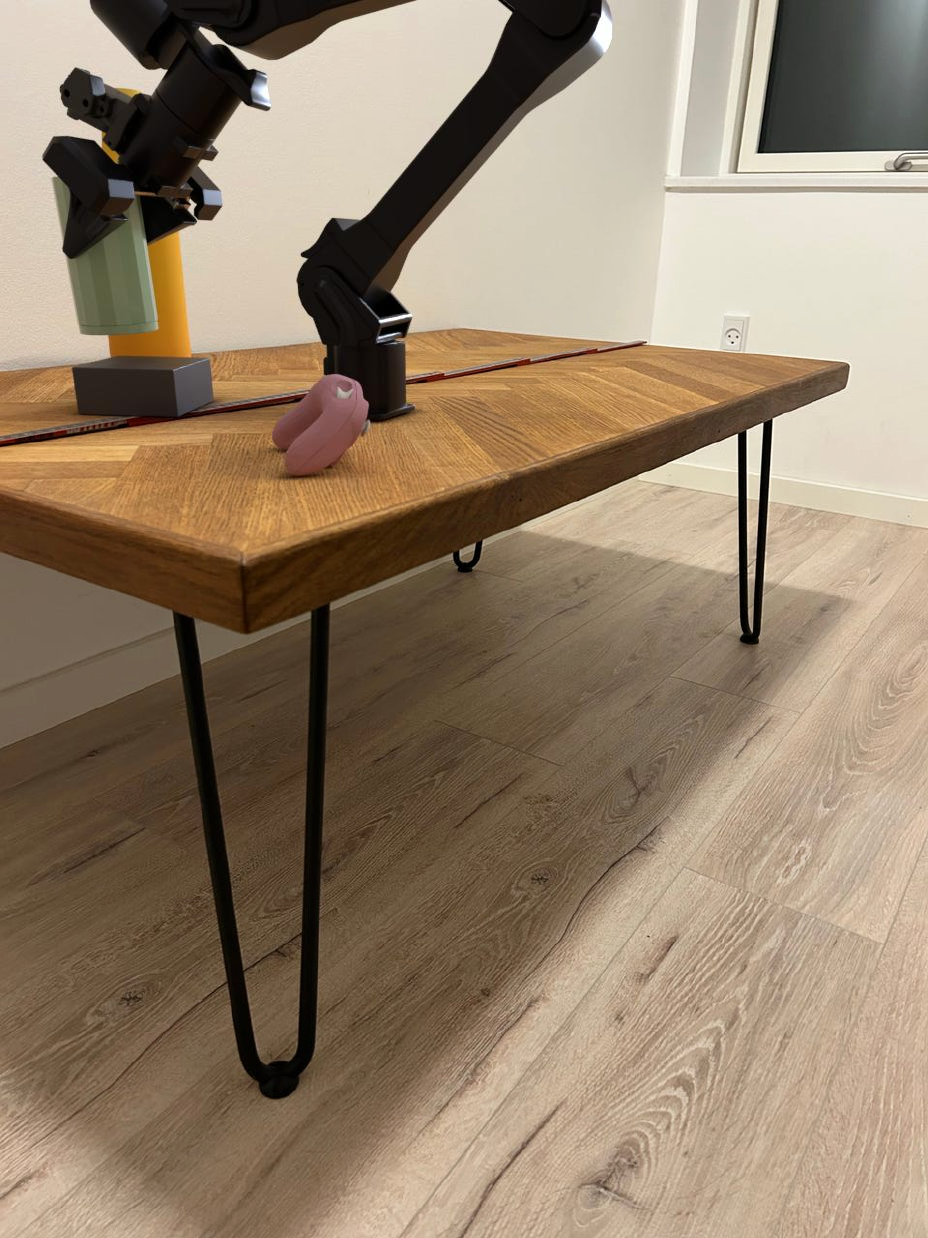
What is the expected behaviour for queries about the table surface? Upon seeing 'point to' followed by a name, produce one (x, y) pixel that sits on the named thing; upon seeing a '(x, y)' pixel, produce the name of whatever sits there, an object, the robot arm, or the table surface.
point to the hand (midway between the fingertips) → (93, 254)
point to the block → (143, 386)
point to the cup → (111, 276)
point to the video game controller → (322, 425)
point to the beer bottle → (159, 298)
